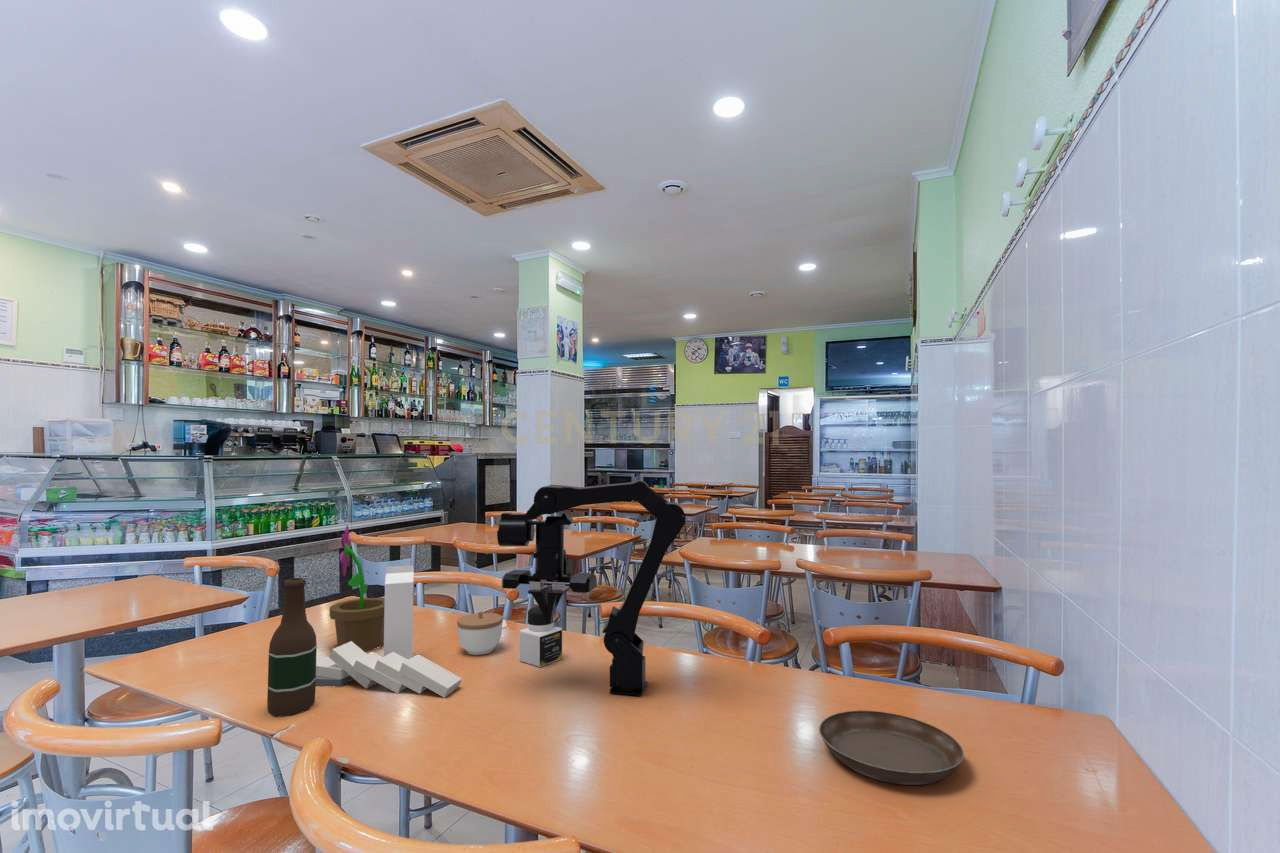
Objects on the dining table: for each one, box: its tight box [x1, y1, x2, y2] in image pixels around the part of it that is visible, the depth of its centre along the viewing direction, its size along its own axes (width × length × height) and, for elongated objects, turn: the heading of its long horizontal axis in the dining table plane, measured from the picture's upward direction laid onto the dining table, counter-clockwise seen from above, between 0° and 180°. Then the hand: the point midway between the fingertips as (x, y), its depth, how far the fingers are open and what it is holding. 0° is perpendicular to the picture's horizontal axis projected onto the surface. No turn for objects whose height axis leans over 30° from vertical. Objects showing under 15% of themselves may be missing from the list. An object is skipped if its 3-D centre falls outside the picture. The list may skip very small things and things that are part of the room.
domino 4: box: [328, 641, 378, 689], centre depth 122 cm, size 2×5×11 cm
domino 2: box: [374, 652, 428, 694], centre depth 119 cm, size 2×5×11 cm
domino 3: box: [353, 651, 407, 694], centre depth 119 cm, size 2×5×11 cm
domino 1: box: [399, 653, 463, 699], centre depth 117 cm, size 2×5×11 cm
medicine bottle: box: [518, 605, 563, 668], centre depth 135 cm, size 7×7×12 cm
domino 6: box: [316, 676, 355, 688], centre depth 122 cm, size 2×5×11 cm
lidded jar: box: [456, 610, 504, 656], centre depth 141 cm, size 11×11×9 cm
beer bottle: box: [266, 577, 318, 717], centre depth 110 cm, size 8×8×24 cm
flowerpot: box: [329, 524, 385, 652], centre depth 146 cm, size 14×14×30 cm
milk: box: [383, 565, 415, 659], centre depth 133 cm, size 6×6×22 cm
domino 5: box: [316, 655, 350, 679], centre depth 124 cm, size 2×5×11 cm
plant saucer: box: [818, 710, 965, 786], centre depth 91 cm, size 21×21×3 cm
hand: (549, 623), depth 119 cm, fingers closed
